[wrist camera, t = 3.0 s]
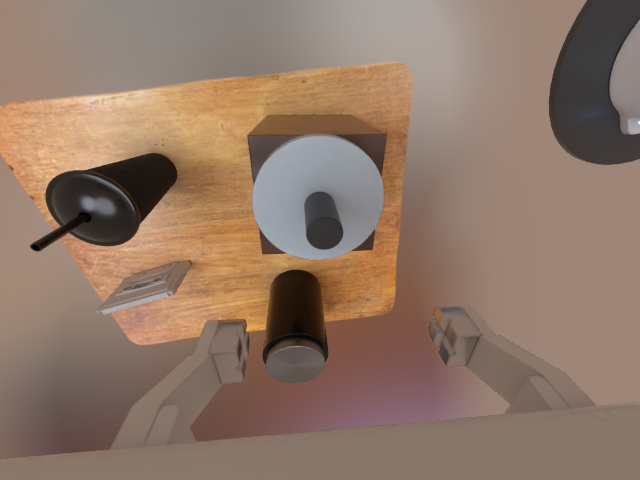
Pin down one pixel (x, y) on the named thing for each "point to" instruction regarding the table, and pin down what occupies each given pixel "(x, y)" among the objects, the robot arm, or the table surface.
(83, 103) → the table surface
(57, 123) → the table surface
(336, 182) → the lid
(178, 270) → the cassette
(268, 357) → the thermos
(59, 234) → the drinking cup
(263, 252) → the riser
